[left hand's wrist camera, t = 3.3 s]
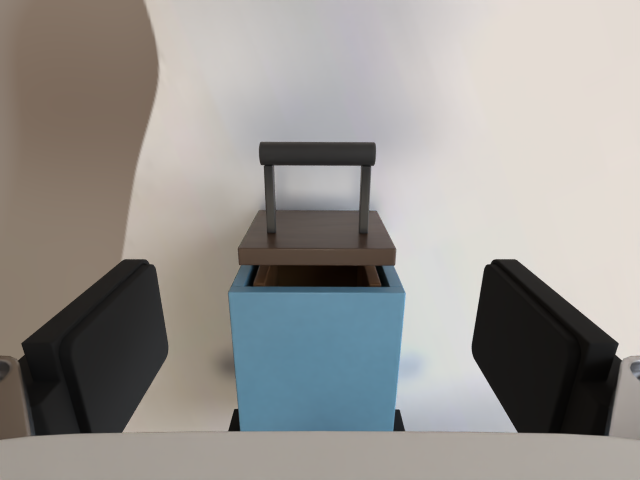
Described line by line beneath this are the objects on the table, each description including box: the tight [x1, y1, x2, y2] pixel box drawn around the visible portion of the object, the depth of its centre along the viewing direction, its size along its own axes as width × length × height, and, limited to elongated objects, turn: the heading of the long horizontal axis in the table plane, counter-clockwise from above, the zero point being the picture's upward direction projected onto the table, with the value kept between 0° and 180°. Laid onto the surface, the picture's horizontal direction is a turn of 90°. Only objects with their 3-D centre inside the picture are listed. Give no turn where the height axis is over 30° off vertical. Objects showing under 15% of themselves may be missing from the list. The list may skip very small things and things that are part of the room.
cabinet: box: [228, 265, 406, 431], centre depth 32 cm, size 19×11×11 cm, turn 0°
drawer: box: [238, 142, 396, 287], centre depth 30 cm, size 24×10×9 cm, turn 0°
